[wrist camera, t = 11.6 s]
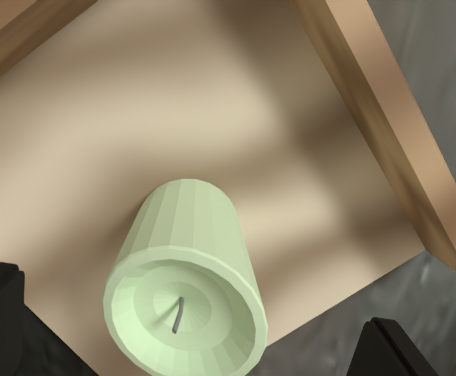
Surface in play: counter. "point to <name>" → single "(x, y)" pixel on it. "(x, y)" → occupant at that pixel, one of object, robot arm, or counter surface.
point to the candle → (186, 287)
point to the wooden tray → (211, 149)
